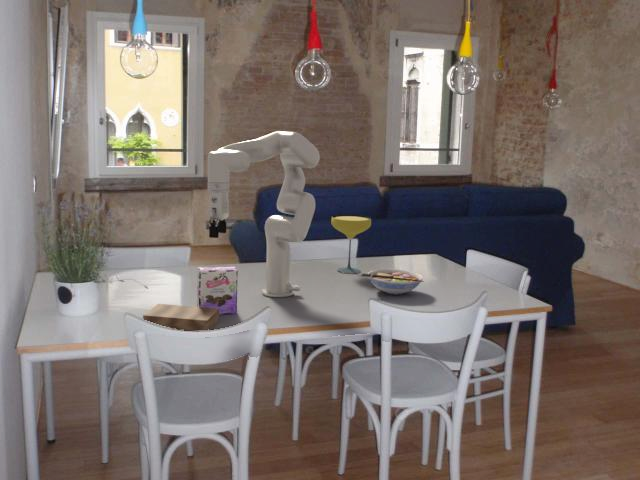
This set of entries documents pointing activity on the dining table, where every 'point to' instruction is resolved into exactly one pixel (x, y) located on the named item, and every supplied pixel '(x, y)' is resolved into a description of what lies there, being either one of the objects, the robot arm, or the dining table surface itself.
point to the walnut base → (183, 316)
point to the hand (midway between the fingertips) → (217, 235)
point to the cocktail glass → (350, 231)
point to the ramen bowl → (394, 280)
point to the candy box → (218, 289)
